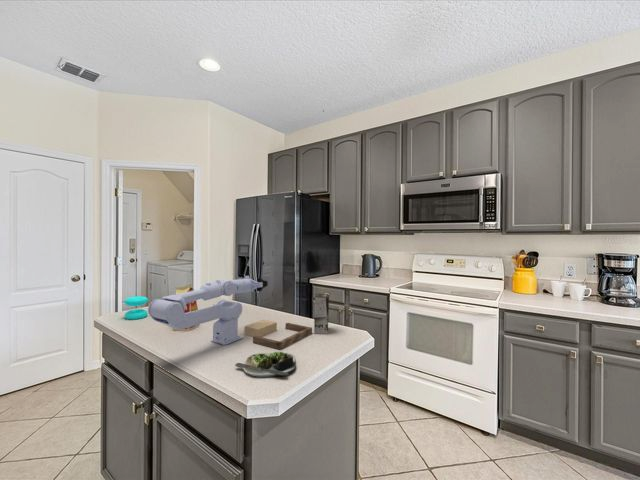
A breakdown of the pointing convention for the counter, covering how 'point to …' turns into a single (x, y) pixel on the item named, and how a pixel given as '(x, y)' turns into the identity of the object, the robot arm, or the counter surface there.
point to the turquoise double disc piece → (136, 312)
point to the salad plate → (269, 364)
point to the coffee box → (321, 313)
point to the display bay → (279, 345)
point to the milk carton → (189, 306)
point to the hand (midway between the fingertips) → (260, 283)
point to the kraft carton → (260, 328)
